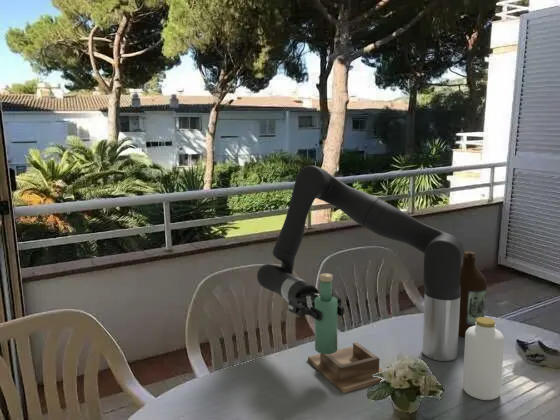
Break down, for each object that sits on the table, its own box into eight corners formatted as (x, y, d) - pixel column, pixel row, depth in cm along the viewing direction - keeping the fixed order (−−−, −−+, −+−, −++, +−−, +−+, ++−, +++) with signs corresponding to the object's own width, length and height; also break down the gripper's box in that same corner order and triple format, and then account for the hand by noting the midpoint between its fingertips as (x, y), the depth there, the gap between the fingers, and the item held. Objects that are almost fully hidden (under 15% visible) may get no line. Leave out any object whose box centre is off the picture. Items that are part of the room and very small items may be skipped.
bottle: (322, 342, 122) (321, 270, 119) (341, 347, 119) (341, 274, 116) (310, 350, 117) (310, 276, 114) (330, 356, 114) (330, 280, 111)
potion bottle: (504, 404, 107) (509, 329, 104) (465, 400, 108) (469, 326, 105) (495, 384, 115) (500, 314, 112) (459, 381, 116) (463, 312, 113)
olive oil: (439, 328, 148) (443, 250, 143) (464, 322, 152) (469, 246, 148) (465, 341, 138) (469, 259, 134) (491, 334, 142) (497, 254, 138)
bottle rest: (307, 360, 128) (307, 344, 127) (351, 349, 134) (351, 334, 133) (343, 393, 112) (343, 375, 111) (391, 379, 118) (391, 362, 117)
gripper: (275, 284, 126) (305, 305, 111) (321, 276, 132) (356, 294, 117) (275, 311, 127) (305, 335, 112) (322, 302, 133) (356, 323, 118)
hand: (331, 314), depth 114 cm, fingers closed on bottle, 5 cm apart
